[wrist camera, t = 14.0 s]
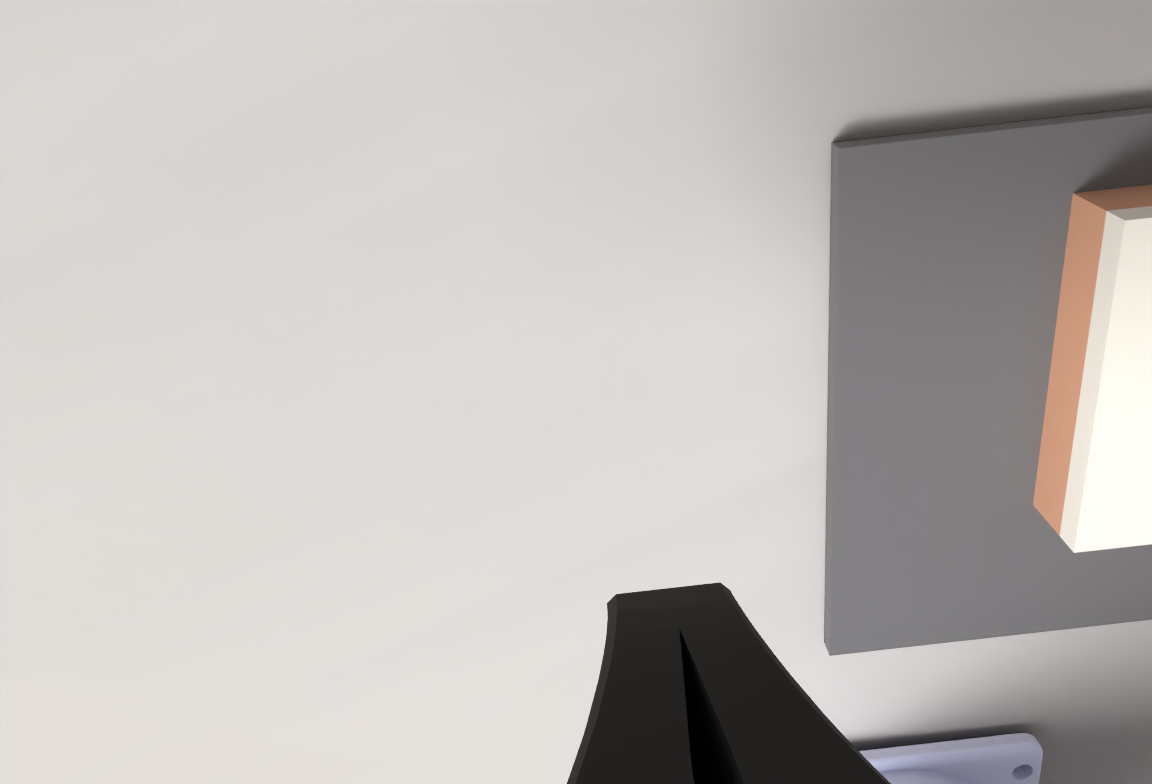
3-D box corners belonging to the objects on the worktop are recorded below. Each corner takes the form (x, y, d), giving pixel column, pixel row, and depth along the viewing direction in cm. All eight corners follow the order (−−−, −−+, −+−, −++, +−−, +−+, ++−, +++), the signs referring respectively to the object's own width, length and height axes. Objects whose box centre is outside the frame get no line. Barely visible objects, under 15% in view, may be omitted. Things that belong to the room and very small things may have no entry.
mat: (1318, 585, 24) (1333, 598, 23) (823, 641, 24) (830, 655, 23) (1468, 71, 19) (1491, 75, 18) (831, 142, 18) (839, 148, 18)
